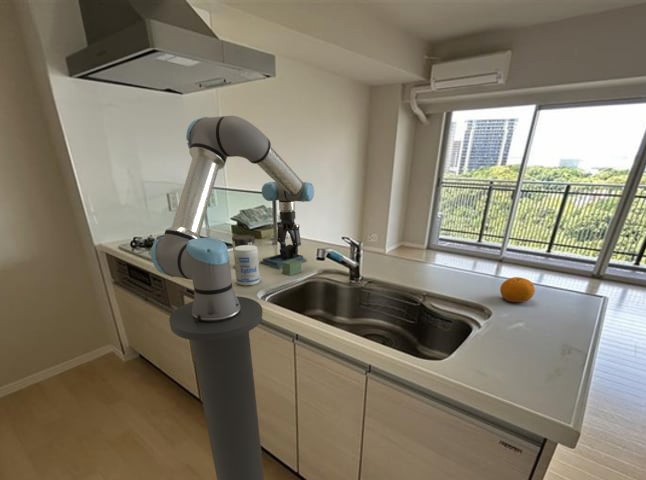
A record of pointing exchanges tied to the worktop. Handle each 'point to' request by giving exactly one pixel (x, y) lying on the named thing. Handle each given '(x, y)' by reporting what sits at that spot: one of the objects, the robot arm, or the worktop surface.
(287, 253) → the charcoal block
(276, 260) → the blue tray
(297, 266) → the sage pad
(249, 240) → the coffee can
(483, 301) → the worktop surface
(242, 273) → the supplement tub
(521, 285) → the fruit
